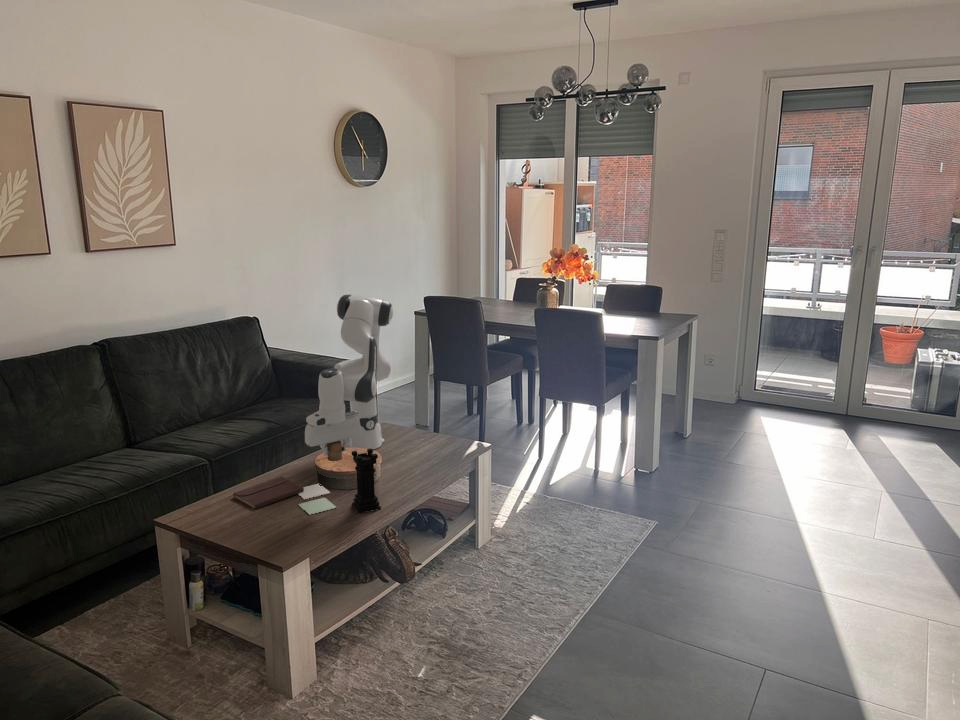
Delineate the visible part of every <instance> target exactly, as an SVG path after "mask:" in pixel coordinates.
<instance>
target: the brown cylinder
mask: <svg viewBox="0 0 960 720" xmlns="http://www.w3.org/2000/svg"><path fill="white" fill-rule="evenodd" d="M326 449H328V450H329V455H327V460H328V461H330V462H338V461H341V460H343V452H342V444H341V441H336V442H331V443H326Z"/></svg>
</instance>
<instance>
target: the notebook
mask: <svg viewBox="0 0 960 720" xmlns="http://www.w3.org/2000/svg"><path fill="white" fill-rule="evenodd" d="M303 487H304V486H301V485H299V484H297V483H295V482H293V481H291V480H289V479H287V478H286V477H284V476H282V475H281V476H278V477H275V478H273V479H269V480H268V481H267V480H266V481H264V482H261V483H258V484H256V485H253V486H249V487H247V488H244V489H241V490H237V491H234V492H233V498H234V499H236V500H238V501H240V502H241V503H243V504H245V505H246V506H249V507H250V508H252V509H254V510H258V509H260V508H262V507H264V506H267V505H270V504H273V503H276V502H278V501H281V500H284V499H287V498H289V497H292V496H295V495H298V493H300V492H303V491H304V488H303Z"/></svg>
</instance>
